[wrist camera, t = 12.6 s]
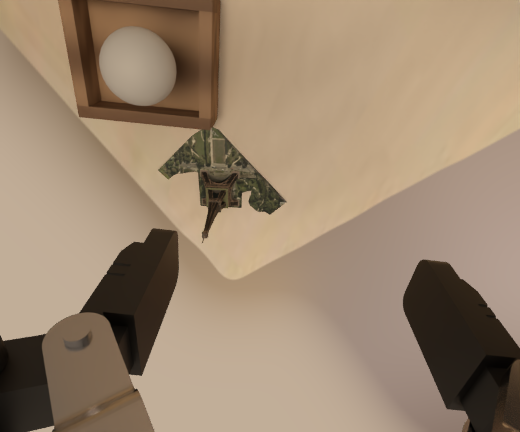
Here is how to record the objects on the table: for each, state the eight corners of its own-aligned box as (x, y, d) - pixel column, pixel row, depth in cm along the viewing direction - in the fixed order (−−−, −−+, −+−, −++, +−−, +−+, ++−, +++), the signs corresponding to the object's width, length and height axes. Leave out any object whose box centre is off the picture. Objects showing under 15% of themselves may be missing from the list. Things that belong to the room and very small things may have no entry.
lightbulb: (141, 92, 36) (97, 113, 27) (129, 28, 33) (74, 26, 24) (196, 91, 36) (171, 111, 26) (189, 26, 33) (158, 24, 23)
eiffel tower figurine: (288, 200, 45) (293, 260, 34) (236, 240, 49) (225, 306, 37) (209, 118, 40) (183, 155, 28) (157, 170, 44) (115, 222, 32)
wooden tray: (82, -15, 33) (54, -21, 29) (220, 0, 34) (212, -4, 29) (100, 106, 39) (79, 116, 35) (217, 118, 40) (210, 130, 35)
